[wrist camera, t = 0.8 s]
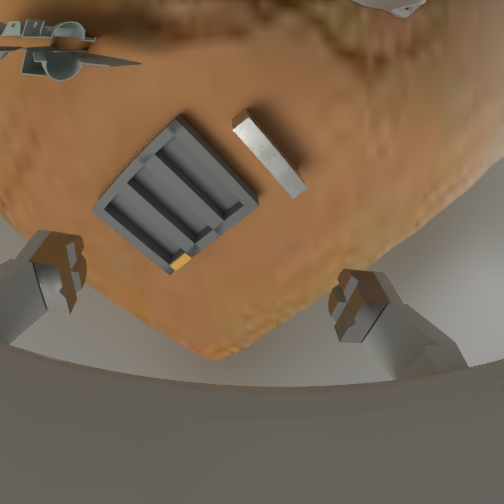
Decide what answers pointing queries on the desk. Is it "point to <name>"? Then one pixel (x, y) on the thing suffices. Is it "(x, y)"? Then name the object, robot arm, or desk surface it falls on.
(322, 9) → the desk surface
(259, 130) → the panel
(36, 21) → the bracket
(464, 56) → the desk surface
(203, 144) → the rack
